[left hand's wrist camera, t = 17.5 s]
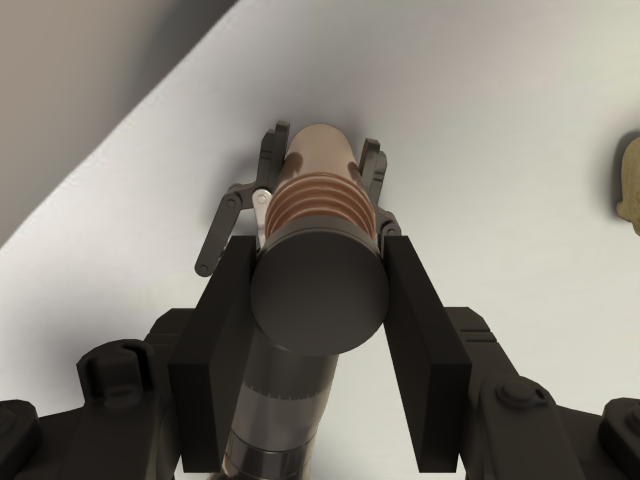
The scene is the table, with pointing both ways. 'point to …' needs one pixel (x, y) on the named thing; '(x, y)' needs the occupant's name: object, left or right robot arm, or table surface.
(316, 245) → the cap
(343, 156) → the bottle
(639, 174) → the sculpture
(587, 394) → the table surface
